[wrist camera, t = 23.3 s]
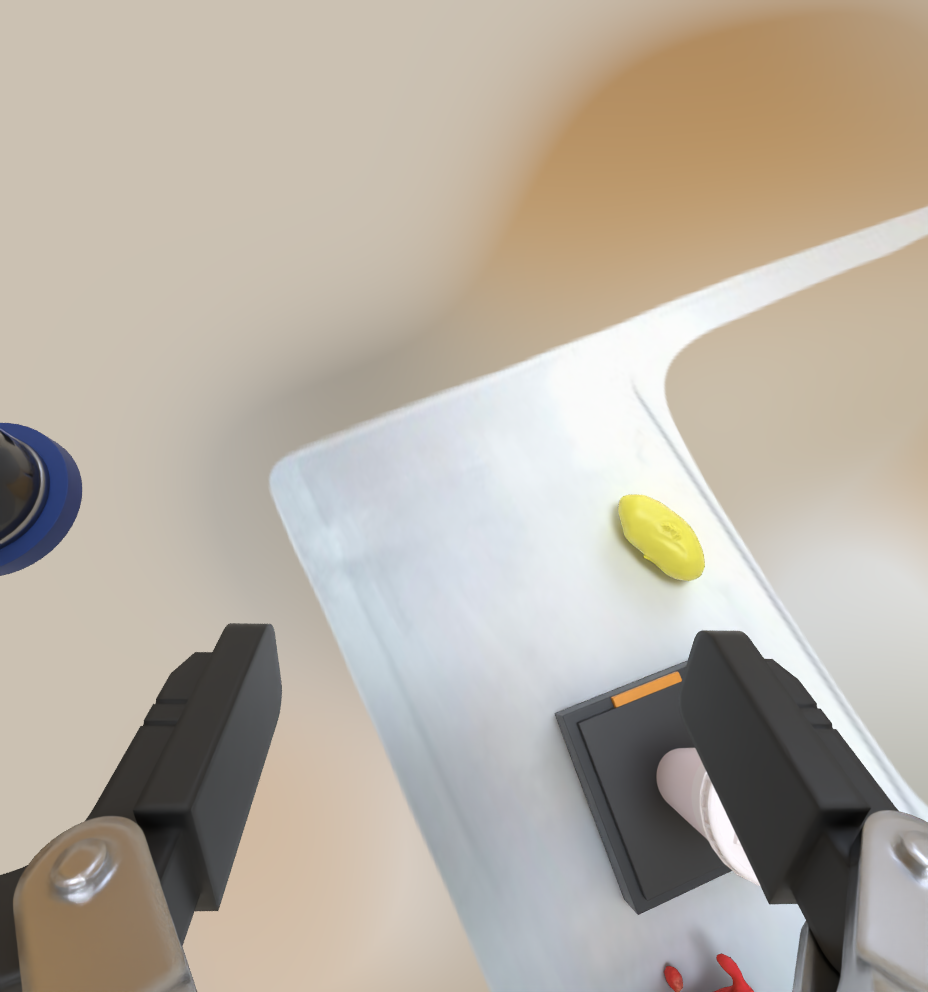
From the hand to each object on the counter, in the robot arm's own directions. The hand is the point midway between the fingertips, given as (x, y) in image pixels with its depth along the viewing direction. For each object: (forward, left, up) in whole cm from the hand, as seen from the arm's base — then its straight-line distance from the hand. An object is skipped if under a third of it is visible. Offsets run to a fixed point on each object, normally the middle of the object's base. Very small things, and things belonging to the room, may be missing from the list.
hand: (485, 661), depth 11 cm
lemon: (+19, +4, -31) cm, 36 cm away
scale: (+13, -11, -31) cm, 35 cm away
